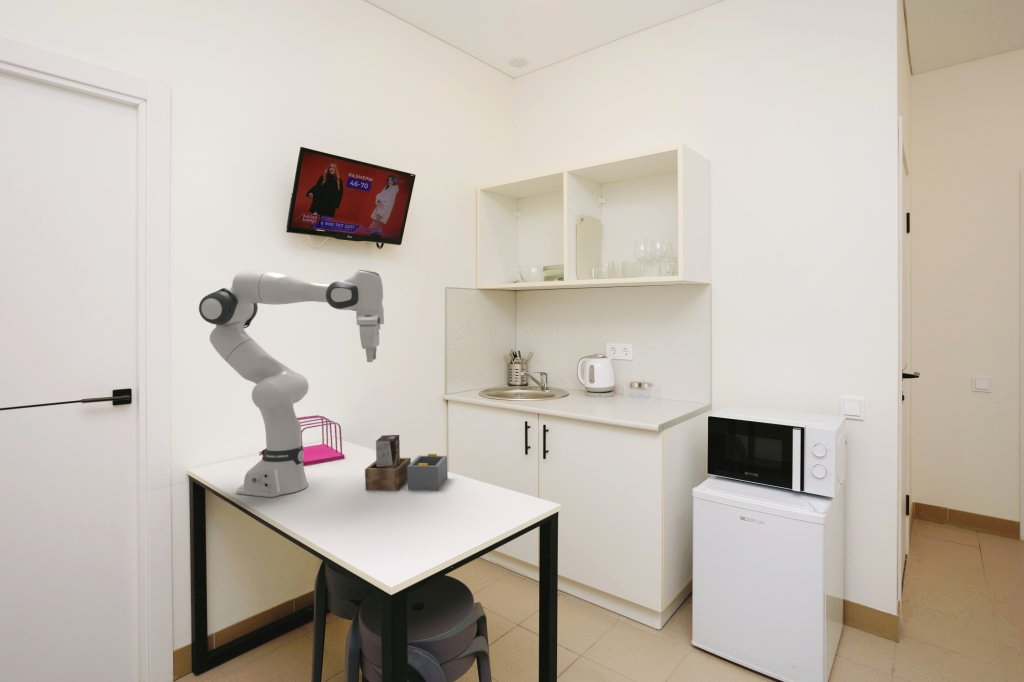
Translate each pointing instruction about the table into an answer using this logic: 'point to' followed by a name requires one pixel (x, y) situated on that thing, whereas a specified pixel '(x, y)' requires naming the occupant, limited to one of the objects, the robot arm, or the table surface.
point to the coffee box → (388, 452)
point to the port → (427, 472)
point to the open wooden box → (386, 476)
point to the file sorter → (321, 451)
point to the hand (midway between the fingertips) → (371, 360)
